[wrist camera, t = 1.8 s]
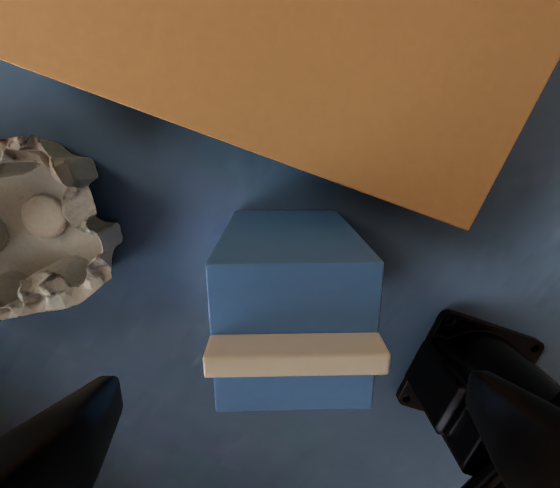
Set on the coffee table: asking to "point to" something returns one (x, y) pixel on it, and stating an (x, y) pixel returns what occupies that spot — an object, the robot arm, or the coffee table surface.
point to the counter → (316, 81)
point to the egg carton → (49, 229)
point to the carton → (293, 313)
